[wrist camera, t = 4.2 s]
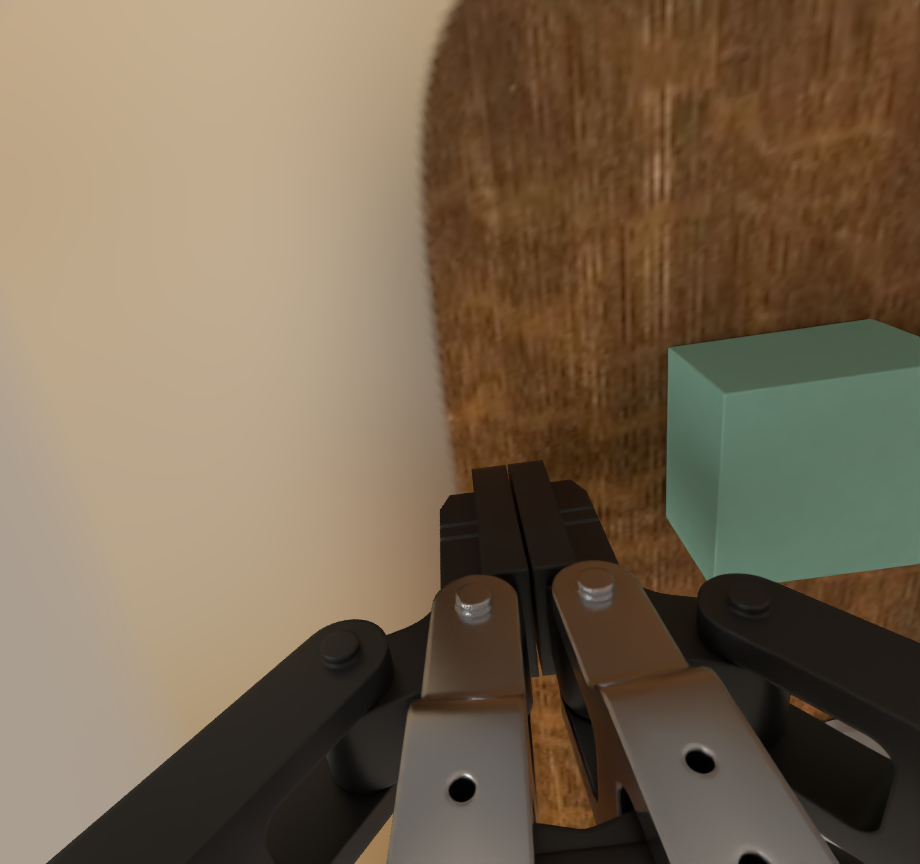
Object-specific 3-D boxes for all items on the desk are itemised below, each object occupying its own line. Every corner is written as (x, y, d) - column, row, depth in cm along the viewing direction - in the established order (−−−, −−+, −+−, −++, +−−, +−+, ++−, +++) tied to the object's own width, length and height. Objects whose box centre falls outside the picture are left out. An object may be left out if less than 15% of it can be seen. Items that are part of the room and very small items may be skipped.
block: (667, 346, 13) (724, 393, 10) (872, 317, 13) (980, 358, 10) (665, 516, 15) (712, 592, 12) (843, 492, 15) (929, 563, 12)
